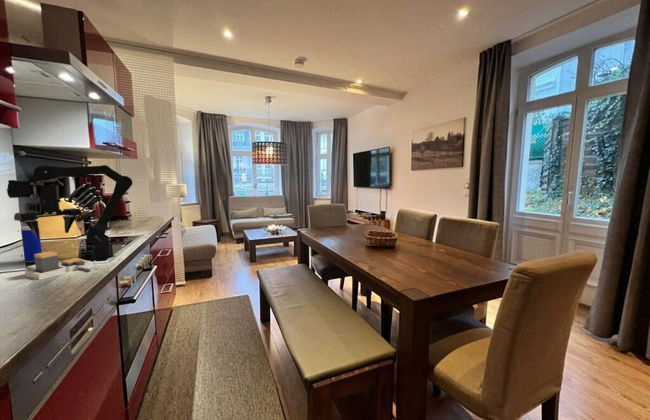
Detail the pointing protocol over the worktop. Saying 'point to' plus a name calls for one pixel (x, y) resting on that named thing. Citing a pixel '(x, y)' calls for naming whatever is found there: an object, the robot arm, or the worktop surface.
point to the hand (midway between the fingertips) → (52, 235)
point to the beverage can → (30, 244)
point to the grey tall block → (46, 261)
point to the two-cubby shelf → (61, 270)
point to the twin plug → (74, 263)
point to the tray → (35, 266)
